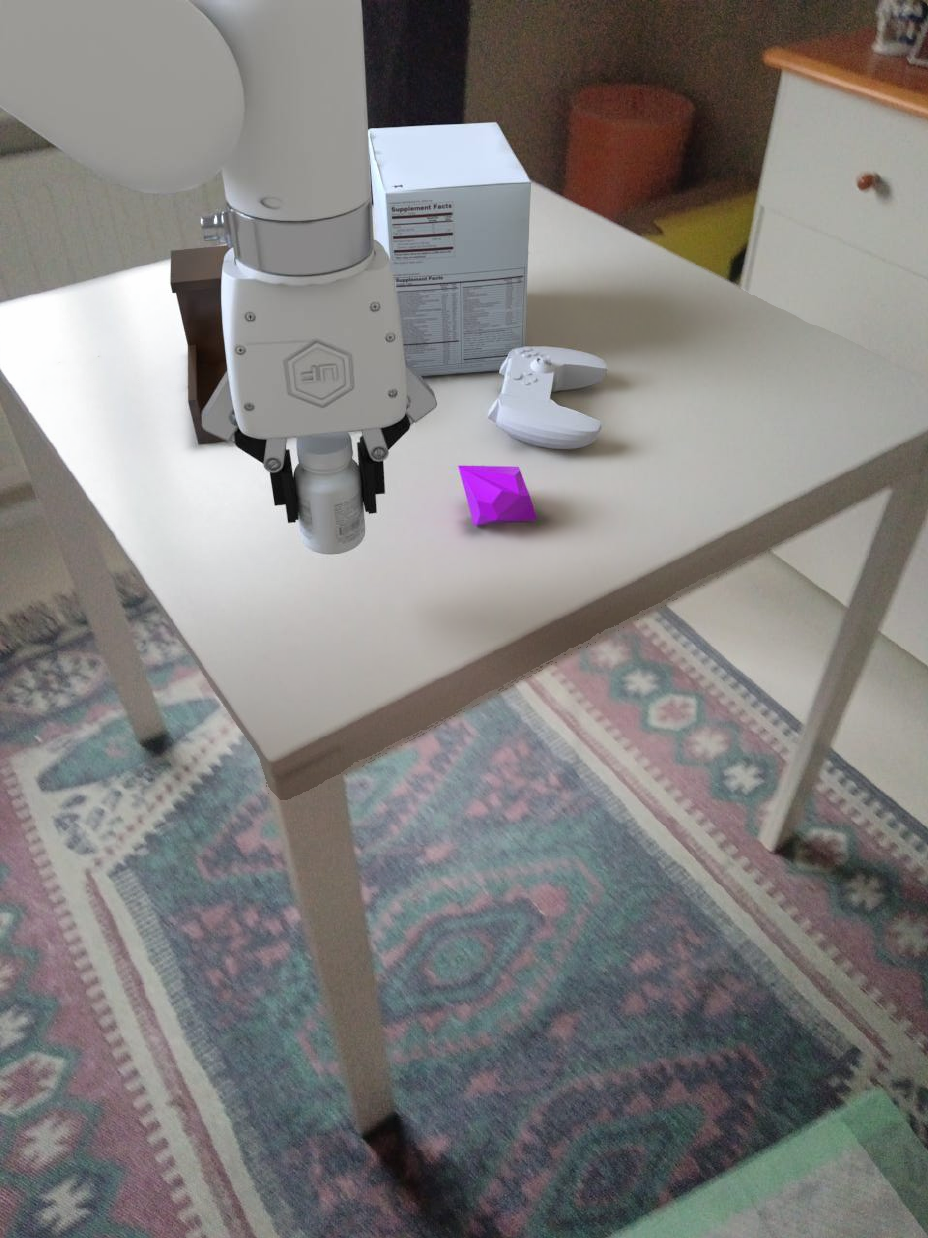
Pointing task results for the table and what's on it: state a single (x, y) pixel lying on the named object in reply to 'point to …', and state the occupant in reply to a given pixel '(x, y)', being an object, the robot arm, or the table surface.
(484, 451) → the table surface
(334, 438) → the pill bottle
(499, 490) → the crystal
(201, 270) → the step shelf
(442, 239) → the supplement box
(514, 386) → the game controller
